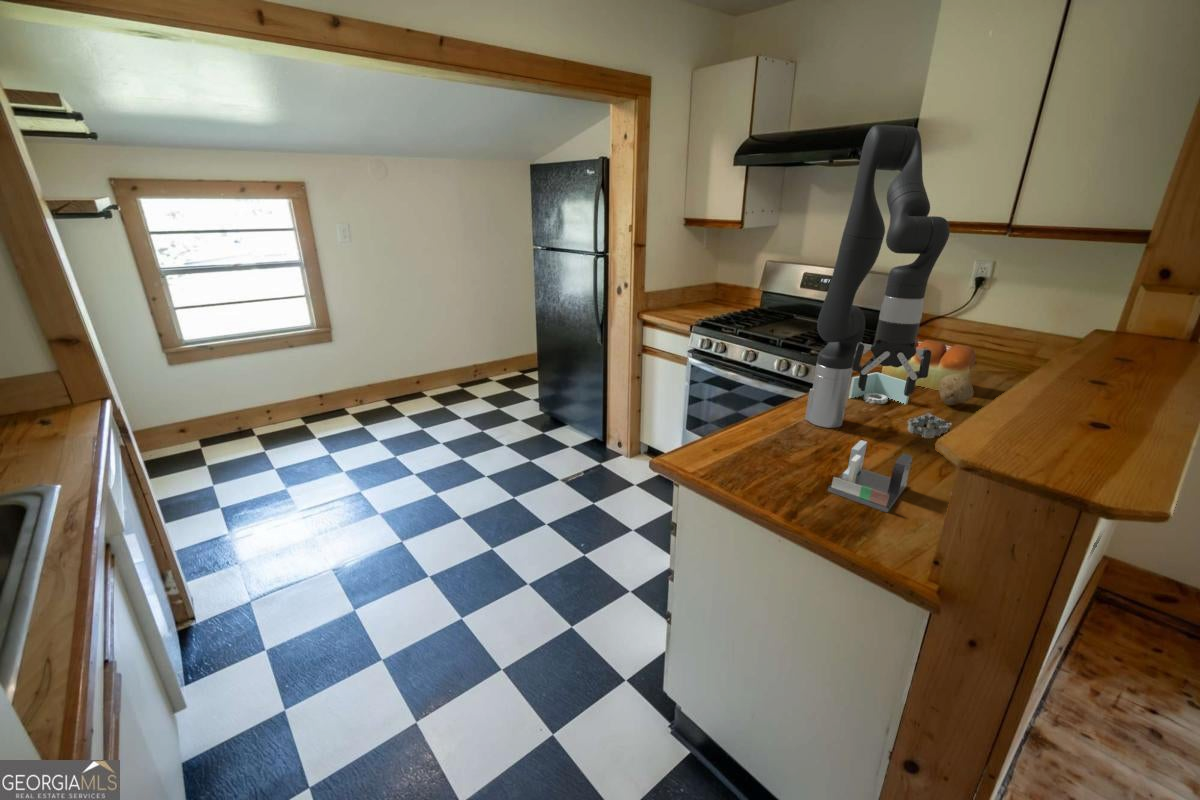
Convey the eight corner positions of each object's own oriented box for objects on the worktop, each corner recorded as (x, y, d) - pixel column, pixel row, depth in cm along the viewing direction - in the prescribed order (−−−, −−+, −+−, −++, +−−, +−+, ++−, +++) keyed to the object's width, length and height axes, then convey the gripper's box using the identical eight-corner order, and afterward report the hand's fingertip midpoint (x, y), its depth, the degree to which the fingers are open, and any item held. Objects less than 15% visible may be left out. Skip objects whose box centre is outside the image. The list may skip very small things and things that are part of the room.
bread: (968, 387, 177) (979, 345, 172) (961, 396, 169) (973, 352, 163) (888, 371, 193) (897, 332, 188) (878, 379, 184) (887, 339, 179)
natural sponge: (969, 404, 162) (977, 373, 158) (969, 413, 155) (978, 381, 151) (935, 398, 167) (942, 368, 163) (933, 406, 160) (941, 376, 156)
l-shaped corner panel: (848, 399, 167) (852, 377, 164) (872, 393, 172) (877, 372, 169) (882, 412, 157) (887, 388, 154) (907, 405, 162) (912, 382, 159)
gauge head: (838, 484, 113) (844, 455, 111) (855, 467, 121) (860, 440, 118) (845, 486, 113) (851, 457, 110) (861, 469, 120) (867, 441, 117)
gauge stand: (827, 491, 113) (833, 458, 110) (849, 468, 123) (856, 438, 120) (887, 512, 105) (895, 478, 103) (906, 486, 115) (914, 454, 112)
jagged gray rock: (928, 441, 138) (931, 427, 136) (901, 430, 144) (904, 417, 142) (952, 433, 142) (956, 419, 140) (925, 423, 148) (929, 410, 147)
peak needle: (844, 489, 111) (850, 460, 109) (850, 482, 114) (856, 454, 111) (849, 490, 111) (855, 461, 108) (855, 484, 113) (861, 455, 111)
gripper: (935, 318, 108) (918, 391, 113) (860, 312, 113) (847, 383, 118) (943, 324, 101) (924, 402, 107) (862, 319, 106) (849, 393, 112)
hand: (883, 392), depth 113 cm, fingers open, 8 cm apart
